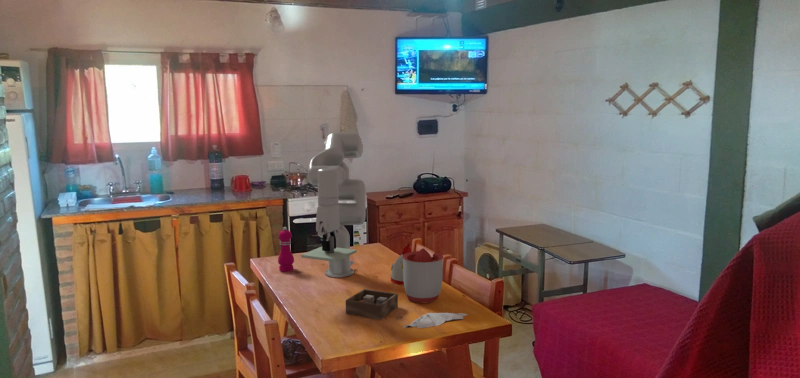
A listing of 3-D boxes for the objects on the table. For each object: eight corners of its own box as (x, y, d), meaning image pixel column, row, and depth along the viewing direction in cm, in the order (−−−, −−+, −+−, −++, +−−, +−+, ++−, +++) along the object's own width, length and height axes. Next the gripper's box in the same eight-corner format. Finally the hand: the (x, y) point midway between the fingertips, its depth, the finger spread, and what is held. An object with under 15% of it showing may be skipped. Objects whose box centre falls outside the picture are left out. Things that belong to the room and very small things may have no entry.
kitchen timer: (385, 282, 235) (385, 248, 233) (397, 273, 248) (397, 240, 245) (416, 286, 230) (416, 251, 228) (427, 277, 242) (427, 243, 240)
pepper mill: (290, 272, 249) (289, 228, 246) (275, 271, 251) (274, 228, 248) (296, 268, 256) (295, 225, 253) (282, 267, 258) (280, 224, 255)
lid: (323, 248, 220) (322, 230, 219) (356, 252, 214) (356, 234, 213) (301, 257, 206) (300, 239, 205) (336, 262, 200) (335, 243, 199)
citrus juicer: (448, 293, 222) (449, 244, 219) (437, 307, 206) (437, 255, 203) (411, 288, 227) (411, 241, 224) (397, 303, 211) (396, 251, 208)
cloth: (462, 310, 204) (462, 305, 204) (478, 325, 191) (478, 318, 191) (394, 318, 197) (394, 312, 197) (405, 333, 184) (405, 327, 184)
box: (364, 301, 212) (364, 288, 212) (397, 306, 207) (397, 293, 206) (345, 313, 200) (345, 300, 199) (380, 319, 194) (380, 306, 193)
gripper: (331, 197, 216) (332, 243, 219) (307, 204, 201) (308, 253, 204) (348, 198, 213) (348, 245, 216) (324, 205, 198) (326, 255, 201)
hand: (329, 249), depth 210 cm, fingers closed on lid, 3 cm apart
